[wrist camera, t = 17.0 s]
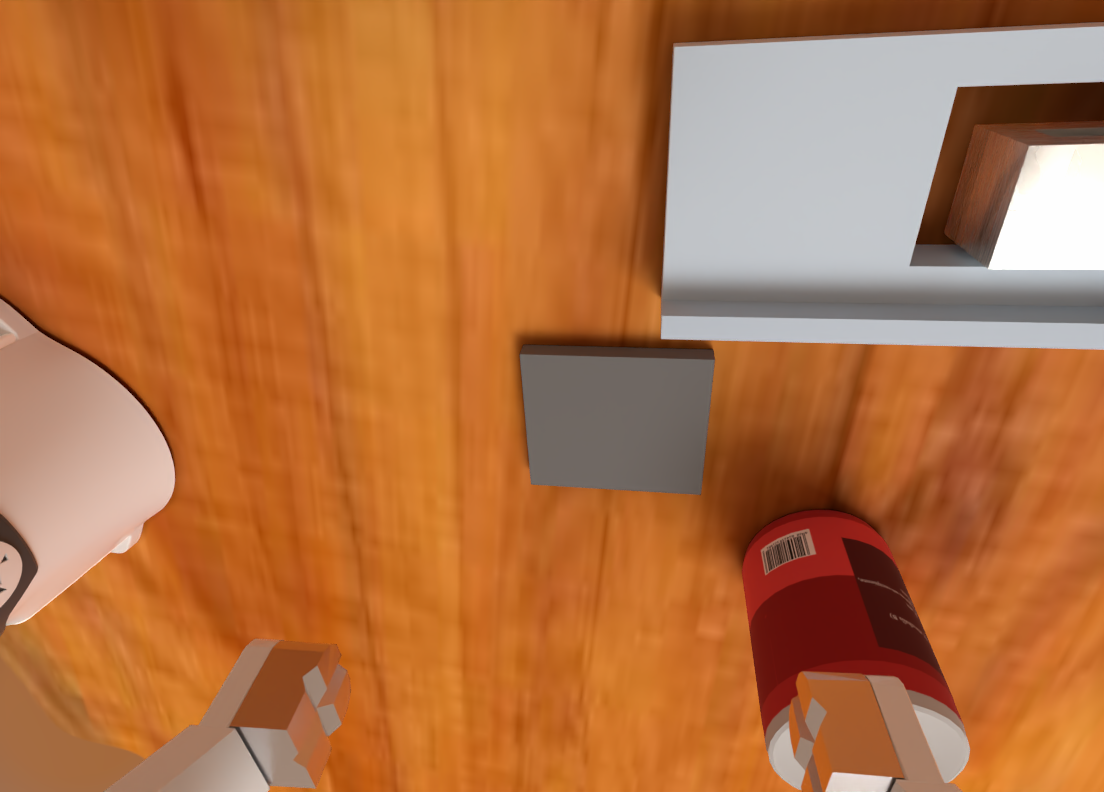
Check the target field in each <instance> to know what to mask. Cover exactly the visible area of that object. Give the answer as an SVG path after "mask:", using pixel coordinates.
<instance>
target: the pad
mask: <svg viewBox="0 0 1104 792" xmlns="http://www.w3.org/2000/svg"><path fill="white" fill-rule="evenodd" d="M714 362H715V358H714V351H713V349H674V348H635V347H596V346H558V345H523V347H522V350H521V352H520V364H521V375H522V387H523V398H524V410H525V421H526V432H527V444H528V455H529V467H530V478H531V484H533V485H549V486H566V487H582V488H598V489H614V490H631V491H647V492H663V493H680V494H696V495H701V489H702V479H703V469H704V459H705V450H706V440H707V430H708V421H709V411H710V401H711V392H712V382H713V372H714Z"/></svg>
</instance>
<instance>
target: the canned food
mask: <svg viewBox="0 0 1104 792" xmlns="http://www.w3.org/2000/svg"><path fill="white" fill-rule="evenodd" d="M742 576H743V584H744V591H745V599H746V606H747V614H748V621H749V629H750V636H751V644H752V651H753V658H754V666H755V673H756V681H757V688H758V696H759V703H760V711H761V718H762V725H763V729H764V736H765V743H766V749H767V751H768V754H769V760H770V763H771V765H772V767H773V769H774V771H775V772H776V773H777V774H778V775H779V776H780V777H781V778H782V779H783V780H785V781H786V782H787V783H789V784H790V785H792V786H793V787H795V788H797V789H799V790H801V784H802V781H803V778H804V774H805V770H804V769H803V768H802V766H801V765H800V764H799V763H798V762H797V761H796V759H795V758H794V754H793V749H792V745H791V739H790V731H789V709H790V705H791V700H792V699H793V698H794V697H796V696H797V695H798V691H797V687H796V681H797V677H798V674H799V673H800V672H802V671H809V672H833V673H857V674H862V675H881V676H895V677H897V678H898V679H899V680H900V681H901V682H902V683H903V684H904V687H905V689H906V692H907V694H908V696H909V699H910V701H911V704H912V706H913V708H914V711H915V713H916V716H917V718H918V720H919V723H920V725H921V728H922V730H923V732H924V735H925V737H926V740H927V742H928V744H929V747H930V749H931V752H932V754H933V756H934V759H935V761H936V764H937V766H938V769H939V771H940V773H941V776H942V778H943V781H944V783H948V782H950V781H951V780H953V779H954V778H955V777H956V776H957V775H958V774H959V773H960V772H961V771H962V770H963V769H964V767H965V765H966V763H967V761H968V760H969V752H970V747H969V743H968V739H967V737H966V733H965V729H964V725H963V722H962V720H961V718H960V715H959V713H958V711H957V708H956V706H955V703H954V700H953V697H952V695H951V692H950V690H949V688H948V685H947V683H946V681H945V678H944V676H943V674H942V671H941V669H940V666H939V664H938V662H937V659H936V657H935V655H934V652H933V650H932V648H931V645H930V643H929V641H928V638H927V636H926V634H925V631H924V629H923V626H922V624H921V622H920V619H919V617H918V615H917V612H916V610H915V608H914V605H913V603H912V601H911V598H910V596H909V593H908V591H907V589H906V586H905V584H904V582H903V579H902V577H901V575H900V572H899V570H898V568H897V565H896V563H895V561H894V558H893V556H892V553H891V551H890V549H889V547H888V545H887V544H886V542H885V541H884V539H883V538H882V537H881V536H880V535H879V534H878V533H877V532H876V531H875V530H874V529H873V528H872V527H871V526H870V525H868V524H867V523H866V522H864V521H863V520H861V519H859V518H858V517H856V516H853V515H850V514H847V513H844V512H839V511H833V510H809V511H801V512H797V513H793V514H789V515H786V516H784V517H782V518H779V519H777V520H775V521H773V522H772V523H770V524H768V525H767V526H765V527H764V528H763V529H762V530H761V531H760V532H758V533H757V534H756V535H755V537H754V538H753V539H752V541H751V542H750V544H749V546H748V548H747V551H746V554H745V557H744V561H743V568H742Z"/></svg>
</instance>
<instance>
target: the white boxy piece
mask: <svg viewBox="0 0 1104 792" xmlns="http://www.w3.org/2000/svg"><path fill="white" fill-rule="evenodd" d="M944 234H945V235H947V236H948V237H949V238H950V239H951V240H953V241H954V242H955V243H956V244H958V245H959V246H960V247H961V248H963V249H964V250H965V251H966V252H967V253H969V254H970V255H971V256H972V257H974V258H975V259H976V260H977V261H979V262H980V263H981V264H982V265H983V266H985V267H986V268H987V269H1104V121H1077V122H1046V123H1015V124H983V125H975V126H974V130H973V133H972V137H971V140H970V144H969V147H968V151H967V154H966V158H965V161H964V165H963V168H962V172H961V175H960V179H959V182H958V186H957V189H956V193H955V196H954V200H953V203H952V207H951V210H950V214H949V217H948V221H947V224H946V228H945V231H944Z"/></svg>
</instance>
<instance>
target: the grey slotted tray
mask: <svg viewBox="0 0 1104 792" xmlns="http://www.w3.org/2000/svg"><path fill="white" fill-rule="evenodd" d="M1081 82H1104V22H1093V23H1072V24H1052V25H1032V26H1011V27H991V28H971V29H950V30H930V31H909V32H889V33H869V34H848V35H828V36H808V37H787V38H767V39H747V40H726V41H706V42H685V43H673V59H672V80H671V101H670V122H669V143H668V164H667V185H666V206H665V228H664V249H663V270H662V291H661V339H681V340H723V341H766V342H808V343H850V344H893V345H935V346H978V347H1020V348H1063V349H1104V269H987V268H986V267H985V266H983V265H982V264H981V263H980V262H979V261H977V260H976V259H975V258H974V257H972V256H971V255H970V254H969V253H967V252H966V251H965V250H964V249H963V248H961V247H960V246H959V245H915V243H916V240H917V236H918V232H919V228H920V225H921V221H922V217H923V214H924V210H925V206H926V202H927V199H928V195H929V191H930V188H931V184H932V180H933V176H934V173H935V169H936V165H937V162H938V158H939V154H940V150H941V147H942V143H943V139H944V136H945V132H946V128H947V124H948V121H949V117H950V113H951V110H952V106H953V102H954V98H955V95H956V91H957V87H970V86H997V85H1025V84H1053V83H1081Z"/></svg>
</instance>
